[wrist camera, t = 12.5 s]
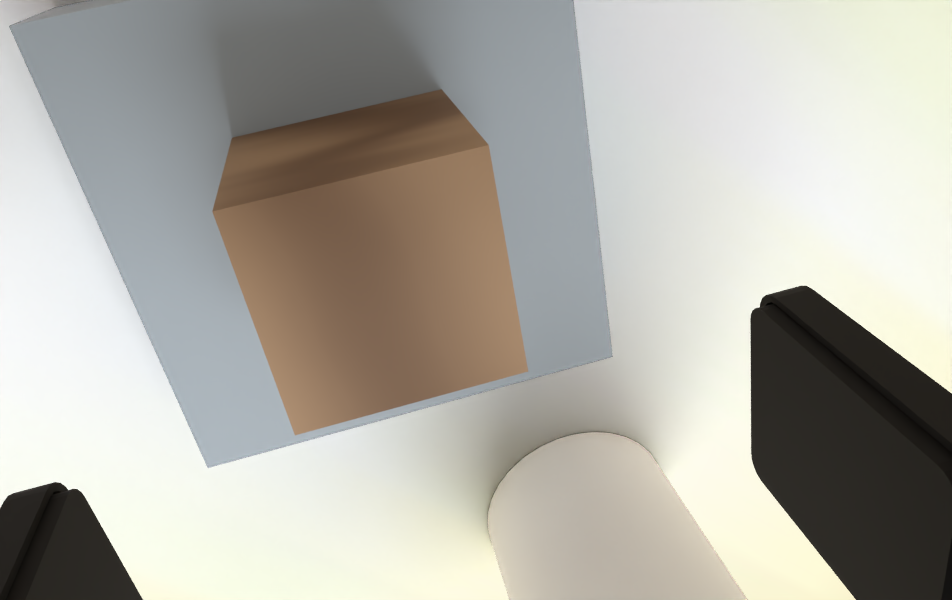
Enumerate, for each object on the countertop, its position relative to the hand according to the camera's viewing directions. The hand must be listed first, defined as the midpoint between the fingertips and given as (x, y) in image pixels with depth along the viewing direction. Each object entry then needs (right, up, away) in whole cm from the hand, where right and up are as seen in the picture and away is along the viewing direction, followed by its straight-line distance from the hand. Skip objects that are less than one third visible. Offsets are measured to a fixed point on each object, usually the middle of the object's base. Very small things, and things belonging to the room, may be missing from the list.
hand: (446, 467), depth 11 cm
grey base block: (-3, +6, +12) cm, 14 cm away
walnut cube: (-2, +5, +9) cm, 10 cm away
